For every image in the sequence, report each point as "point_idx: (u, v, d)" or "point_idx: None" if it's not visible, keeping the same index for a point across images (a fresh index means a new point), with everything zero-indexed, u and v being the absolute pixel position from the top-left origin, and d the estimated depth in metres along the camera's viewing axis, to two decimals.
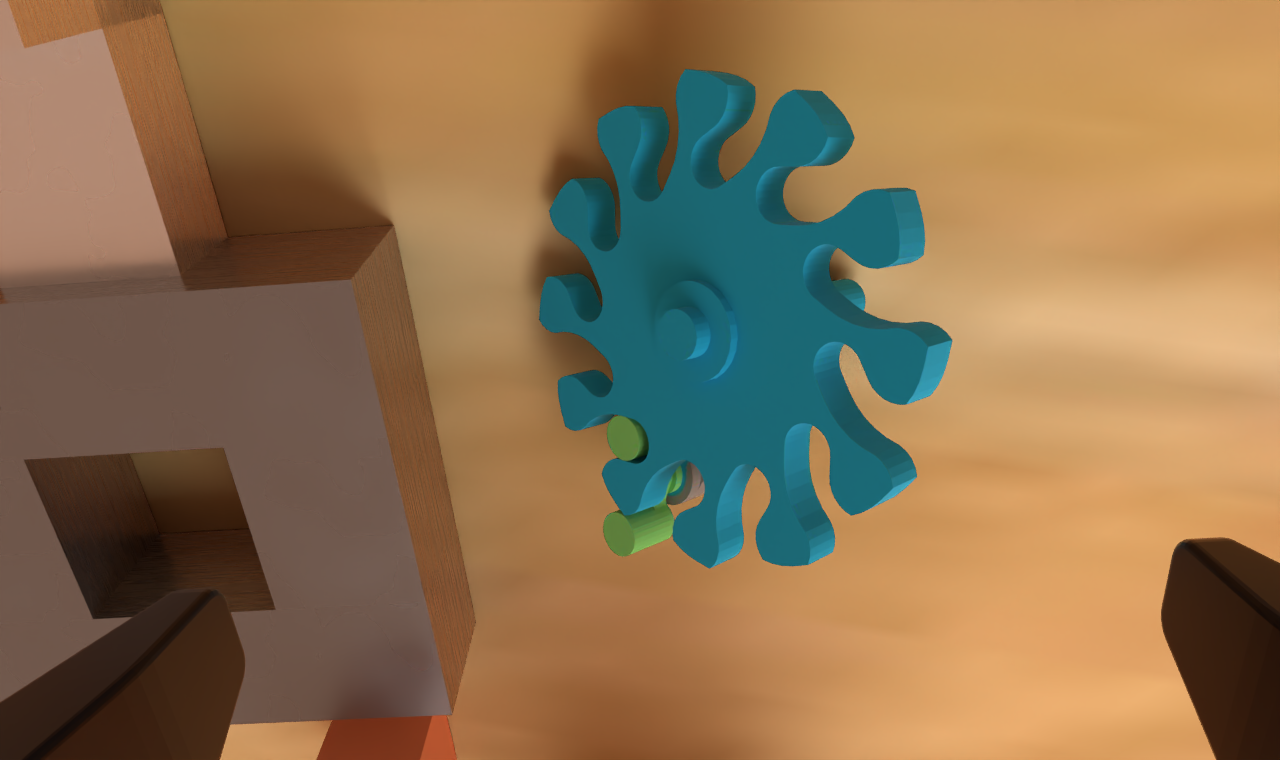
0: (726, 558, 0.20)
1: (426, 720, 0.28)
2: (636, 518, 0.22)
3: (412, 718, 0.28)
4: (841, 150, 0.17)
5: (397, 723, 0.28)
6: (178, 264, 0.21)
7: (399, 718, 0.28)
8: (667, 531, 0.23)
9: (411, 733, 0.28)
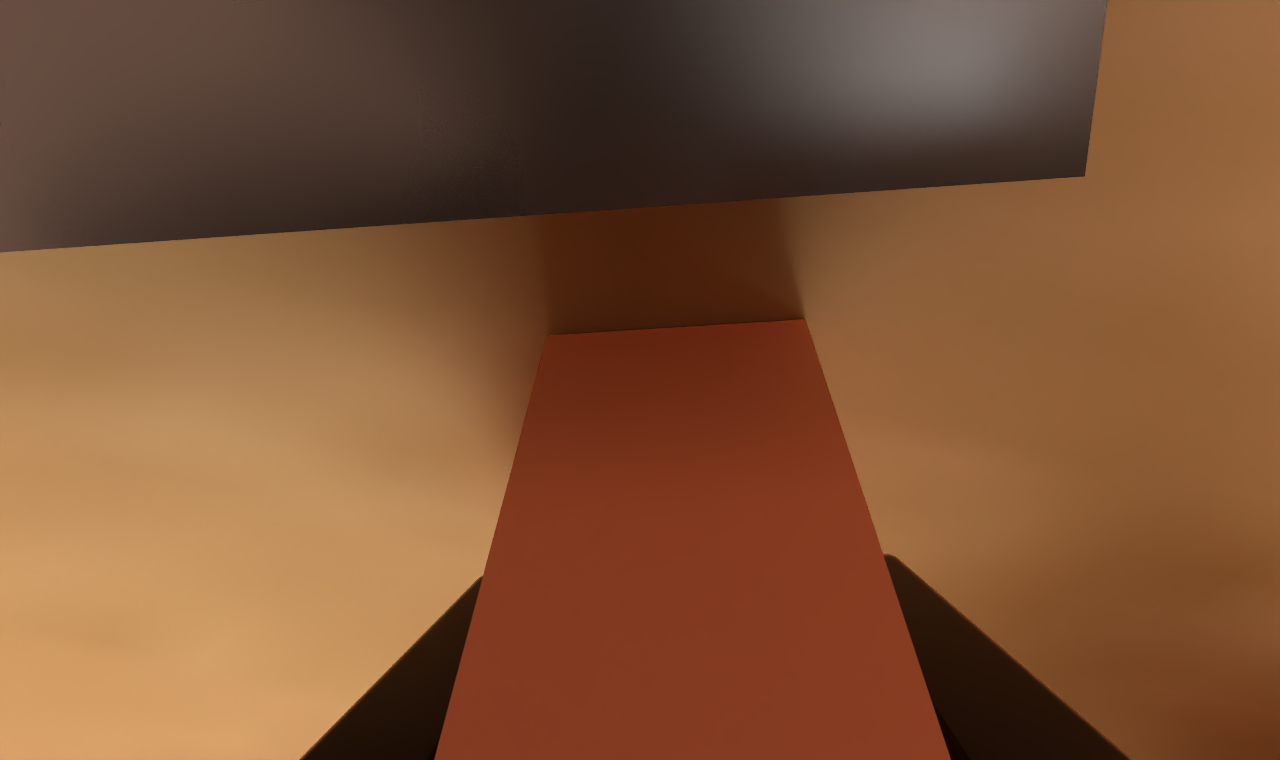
0: None
1: (808, 367, 0.10)
2: None
3: (764, 366, 0.10)
4: None
5: (727, 375, 0.10)
6: None
7: (726, 367, 0.10)
8: None
9: (780, 390, 0.10)
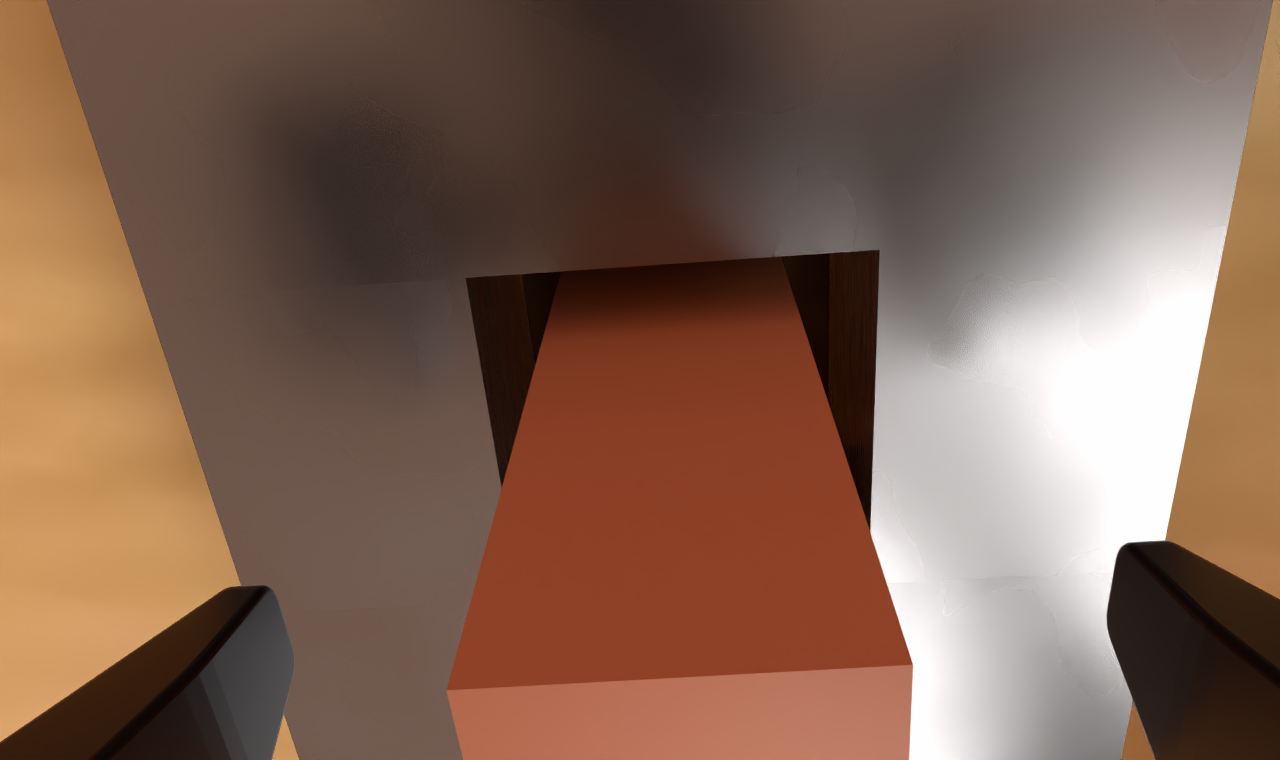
0: None
1: None
2: None
3: None
4: None
5: (708, 263, 0.13)
6: None
7: None
8: None
9: (748, 271, 0.13)
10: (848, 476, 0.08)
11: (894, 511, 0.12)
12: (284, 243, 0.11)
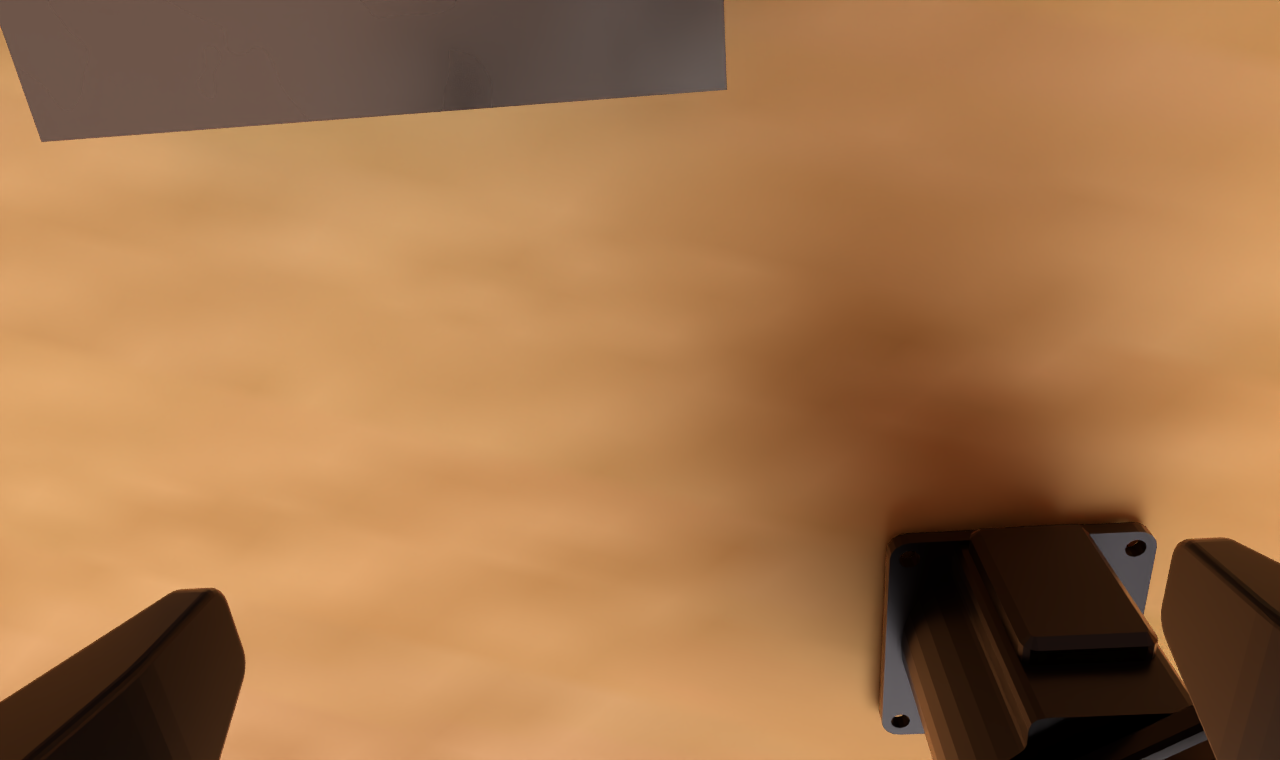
0: None
1: None
2: None
3: None
4: None
5: None
6: None
7: None
8: None
9: None
10: None
11: None
12: None
